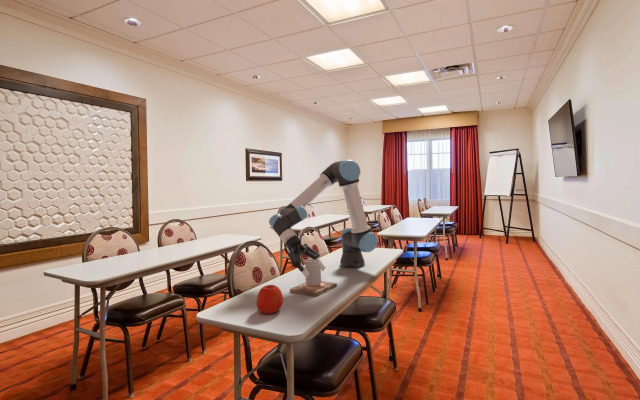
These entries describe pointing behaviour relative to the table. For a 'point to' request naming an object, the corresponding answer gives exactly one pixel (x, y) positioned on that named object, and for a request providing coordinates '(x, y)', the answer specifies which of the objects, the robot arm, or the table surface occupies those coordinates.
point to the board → (313, 288)
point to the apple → (269, 299)
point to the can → (313, 273)
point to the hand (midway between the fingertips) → (316, 272)
